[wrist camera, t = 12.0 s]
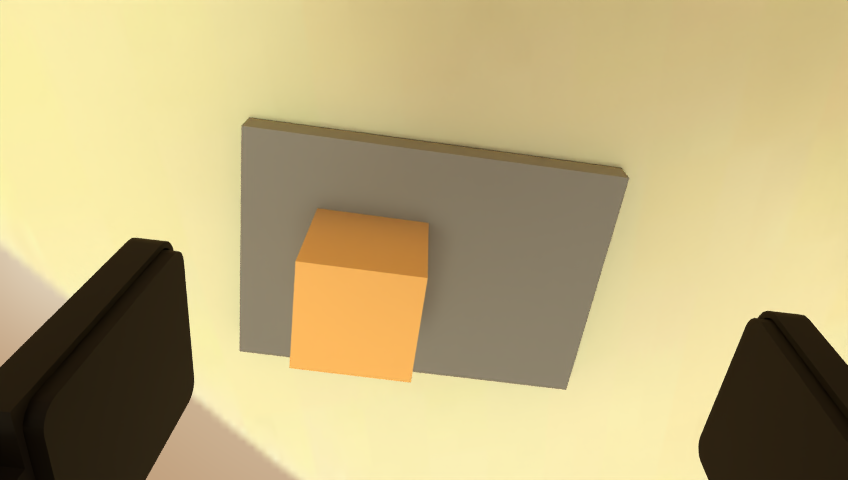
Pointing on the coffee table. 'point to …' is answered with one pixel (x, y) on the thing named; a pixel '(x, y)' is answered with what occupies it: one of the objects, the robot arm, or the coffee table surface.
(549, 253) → the grey oblong slab
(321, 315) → the orange cube
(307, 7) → the coffee table surface
